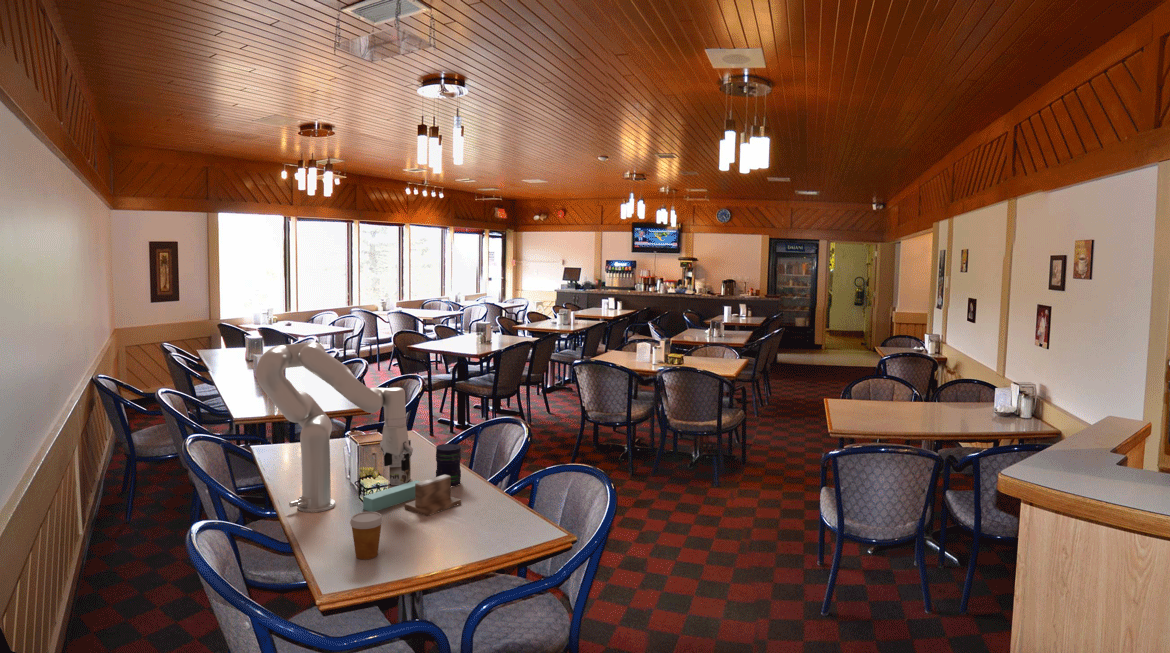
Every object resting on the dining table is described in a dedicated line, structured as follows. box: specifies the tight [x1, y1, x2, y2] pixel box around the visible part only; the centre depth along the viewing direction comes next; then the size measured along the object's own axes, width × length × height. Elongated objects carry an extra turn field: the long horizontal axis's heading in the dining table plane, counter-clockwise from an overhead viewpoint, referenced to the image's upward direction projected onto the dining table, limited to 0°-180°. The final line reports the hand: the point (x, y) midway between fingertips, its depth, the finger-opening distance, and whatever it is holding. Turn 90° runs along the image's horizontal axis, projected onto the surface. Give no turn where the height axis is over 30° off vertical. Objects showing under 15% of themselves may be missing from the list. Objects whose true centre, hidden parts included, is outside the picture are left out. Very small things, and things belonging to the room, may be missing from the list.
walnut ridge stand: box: [404, 474, 462, 517], centre depth 253 cm, size 16×12×10 cm
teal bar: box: [362, 480, 421, 512], centre depth 257 cm, size 24×5×5 cm, turn 144°
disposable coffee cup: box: [349, 511, 384, 561], centre depth 210 cm, size 10×10×12 cm
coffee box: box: [388, 439, 412, 486], centre depth 279 cm, size 9×6×16 cm
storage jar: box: [435, 443, 462, 487], centre depth 279 cm, size 10×10×15 cm
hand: (396, 467), depth 256 cm, fingers open, 9 cm apart
